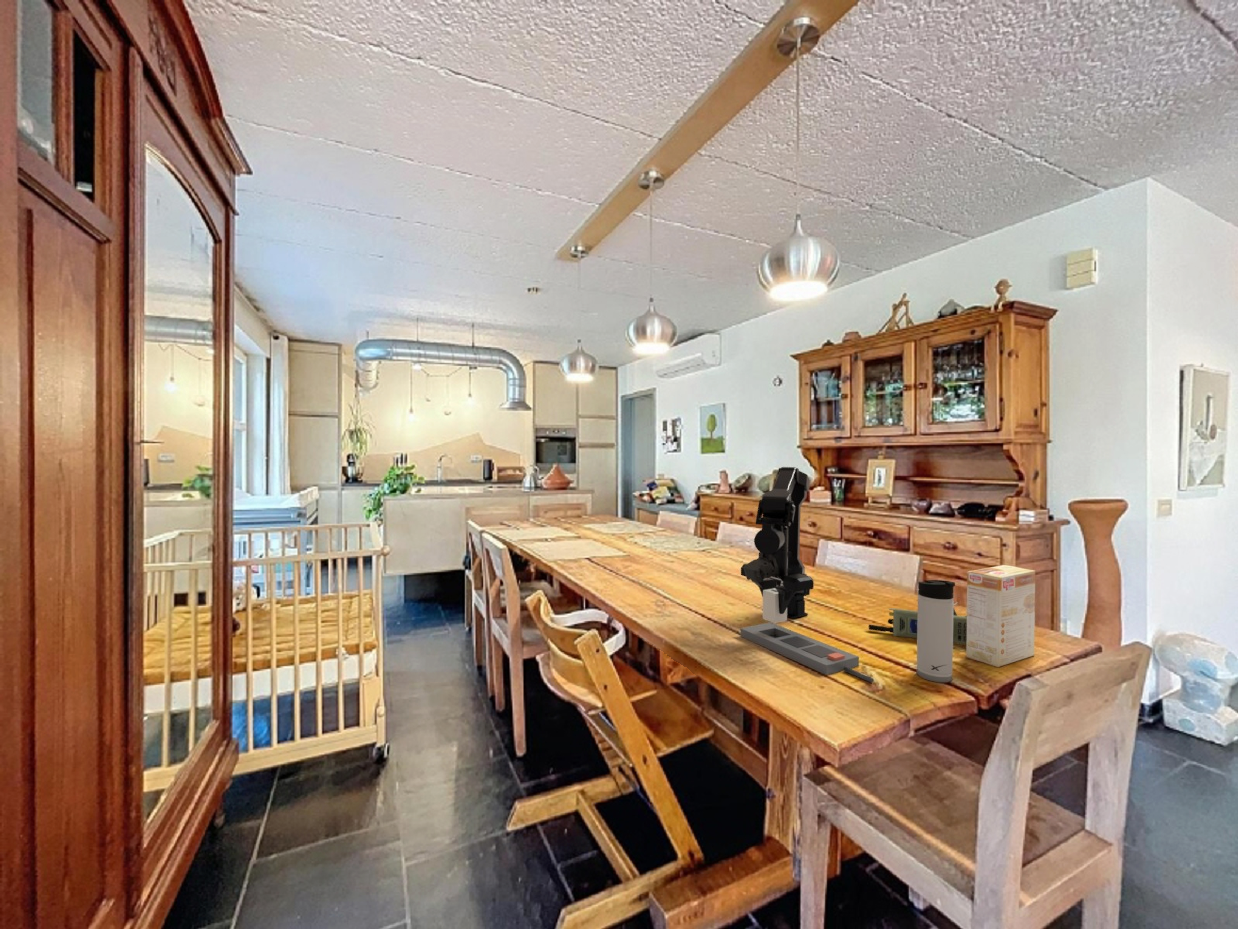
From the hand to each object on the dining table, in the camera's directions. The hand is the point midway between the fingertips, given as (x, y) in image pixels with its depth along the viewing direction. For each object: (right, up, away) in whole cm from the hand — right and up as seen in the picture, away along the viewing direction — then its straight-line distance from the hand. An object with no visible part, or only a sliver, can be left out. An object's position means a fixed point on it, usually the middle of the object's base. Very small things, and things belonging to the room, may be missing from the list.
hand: (774, 611), depth 127 cm
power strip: (+5, -7, -9) cm, 12 cm away
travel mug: (+27, -8, -20) cm, 34 cm away
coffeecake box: (+48, -8, -9) cm, 50 cm away
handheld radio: (+38, -8, +3) cm, 39 cm away
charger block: (0, -2, 0) cm, 2 cm away
